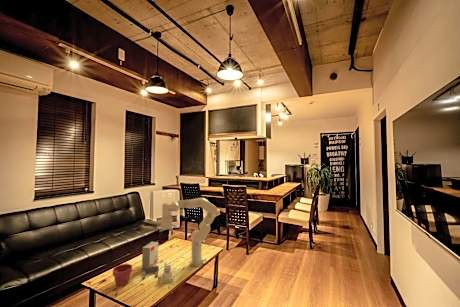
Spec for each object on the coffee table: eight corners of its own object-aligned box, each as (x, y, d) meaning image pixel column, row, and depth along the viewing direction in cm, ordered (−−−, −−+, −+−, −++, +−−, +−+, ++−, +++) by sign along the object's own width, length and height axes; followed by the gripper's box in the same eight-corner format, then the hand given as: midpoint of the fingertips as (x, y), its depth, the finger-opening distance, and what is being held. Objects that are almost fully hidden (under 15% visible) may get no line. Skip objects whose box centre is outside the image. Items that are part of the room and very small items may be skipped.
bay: (158, 271, 198) (158, 265, 198) (157, 277, 187) (157, 271, 187) (145, 272, 195) (145, 267, 195) (143, 279, 185) (143, 273, 185)
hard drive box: (149, 270, 199) (149, 248, 199) (141, 269, 200) (141, 247, 201) (158, 262, 214) (158, 242, 215) (151, 261, 216) (151, 241, 216)
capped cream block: (171, 274, 189) (171, 264, 189) (170, 279, 182) (170, 269, 182) (164, 275, 188) (164, 265, 188) (163, 280, 180) (163, 269, 181)
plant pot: (127, 277, 188) (127, 261, 188) (135, 282, 179) (135, 267, 179) (109, 284, 177) (109, 268, 177) (117, 291, 168) (117, 274, 168)
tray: (173, 274, 191) (173, 271, 191) (172, 281, 180) (173, 278, 180) (161, 276, 189) (161, 272, 189) (160, 283, 178) (160, 279, 178)
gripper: (176, 215, 210) (176, 233, 209) (157, 216, 206) (157, 234, 205) (176, 217, 202) (175, 235, 202) (156, 218, 198) (156, 237, 198)
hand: (166, 235), depth 204 cm, fingers open, 9 cm apart
